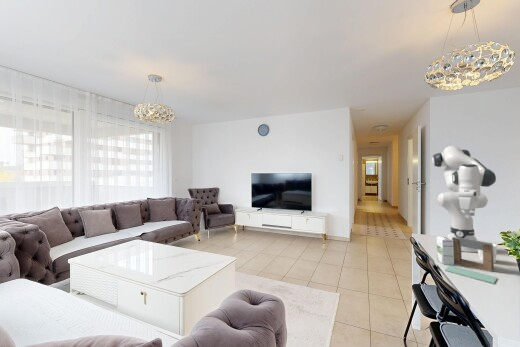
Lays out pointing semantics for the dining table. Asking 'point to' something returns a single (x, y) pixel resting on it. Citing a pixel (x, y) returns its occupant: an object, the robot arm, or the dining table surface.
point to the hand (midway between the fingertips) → (470, 216)
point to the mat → (471, 274)
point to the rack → (458, 259)
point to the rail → (472, 243)
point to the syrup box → (445, 250)
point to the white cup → (480, 253)
